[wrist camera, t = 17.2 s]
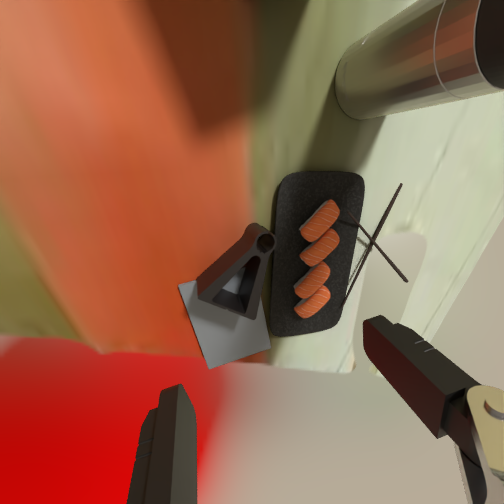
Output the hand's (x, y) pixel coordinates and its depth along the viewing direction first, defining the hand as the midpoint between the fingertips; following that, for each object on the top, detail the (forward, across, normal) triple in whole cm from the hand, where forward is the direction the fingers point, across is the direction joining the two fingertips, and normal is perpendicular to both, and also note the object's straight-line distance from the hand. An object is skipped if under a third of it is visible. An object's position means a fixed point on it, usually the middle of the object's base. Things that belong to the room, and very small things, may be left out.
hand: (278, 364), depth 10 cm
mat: (+26, +3, +18) cm, 32 cm away
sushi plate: (+28, -20, +14) cm, 37 cm away
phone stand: (+23, +3, +12) cm, 26 cm away
